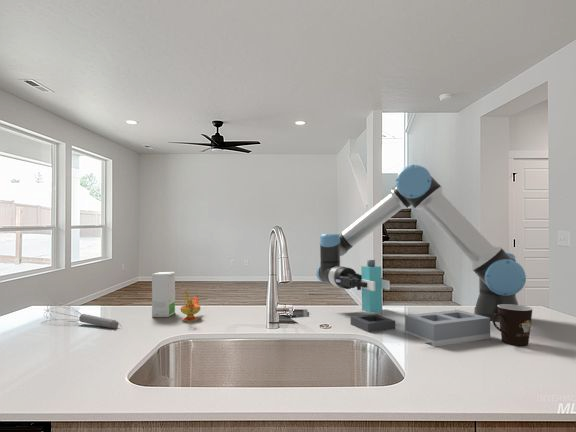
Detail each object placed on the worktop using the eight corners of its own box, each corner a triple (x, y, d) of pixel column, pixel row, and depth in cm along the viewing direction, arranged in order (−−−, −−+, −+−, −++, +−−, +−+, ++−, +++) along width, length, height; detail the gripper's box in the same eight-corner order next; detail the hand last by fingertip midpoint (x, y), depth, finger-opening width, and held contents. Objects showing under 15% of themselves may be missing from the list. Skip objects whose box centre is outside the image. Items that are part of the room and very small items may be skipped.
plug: (373, 308, 127) (373, 259, 128) (382, 311, 123) (381, 260, 124) (362, 309, 126) (361, 259, 126) (370, 312, 122) (369, 260, 122)
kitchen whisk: (113, 332, 122) (114, 311, 122) (38, 322, 134) (38, 304, 135) (128, 327, 128) (128, 307, 128) (55, 318, 140) (55, 301, 140)
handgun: (272, 312, 151) (268, 324, 133) (272, 307, 151) (268, 318, 133) (307, 313, 150) (307, 325, 132) (307, 308, 150) (307, 319, 132)
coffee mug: (523, 339, 114) (523, 304, 115) (539, 348, 106) (538, 310, 106) (481, 337, 115) (481, 303, 116) (494, 346, 107) (493, 309, 107)
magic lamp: (206, 312, 148) (207, 283, 149) (194, 324, 130) (195, 291, 131) (188, 312, 149) (189, 283, 149) (174, 324, 131) (174, 291, 131)
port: (458, 328, 126) (458, 309, 126) (490, 338, 115) (490, 317, 115) (405, 335, 118) (405, 315, 118) (433, 346, 107) (433, 324, 107)
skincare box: (168, 317, 140) (169, 274, 141) (150, 317, 140) (150, 274, 141) (175, 312, 149) (175, 271, 149) (158, 312, 149) (158, 271, 149)
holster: (376, 324, 131) (376, 314, 131) (395, 332, 121) (395, 320, 122) (350, 327, 127) (350, 316, 127) (367, 335, 118) (367, 323, 118)
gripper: (364, 286, 145) (405, 296, 123) (321, 289, 138) (356, 300, 116) (363, 265, 145) (404, 272, 123) (321, 268, 138) (356, 275, 117)
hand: (381, 285), depth 120 cm, fingers closed on plug, 4 cm apart
